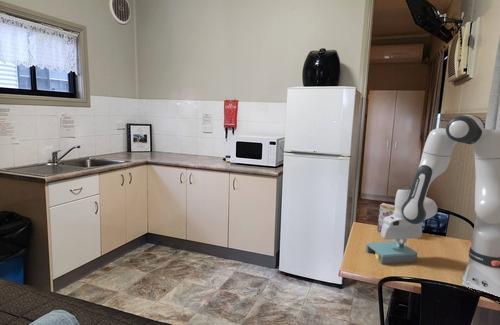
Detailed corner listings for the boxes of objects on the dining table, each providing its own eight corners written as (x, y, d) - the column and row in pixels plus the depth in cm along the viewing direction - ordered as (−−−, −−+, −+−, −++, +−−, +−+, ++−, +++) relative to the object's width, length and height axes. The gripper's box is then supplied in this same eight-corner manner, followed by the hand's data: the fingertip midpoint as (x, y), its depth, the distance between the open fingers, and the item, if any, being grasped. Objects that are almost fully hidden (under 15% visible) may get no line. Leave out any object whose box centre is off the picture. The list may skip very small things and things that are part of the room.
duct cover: (417, 254, 152) (417, 252, 152) (382, 257, 149) (382, 255, 149) (398, 242, 166) (398, 240, 165) (366, 244, 162) (366, 242, 162)
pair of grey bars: (416, 261, 153) (417, 254, 152) (381, 264, 149) (382, 257, 149) (397, 249, 166) (398, 242, 166) (365, 251, 163) (366, 244, 162)
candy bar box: (376, 231, 191) (379, 204, 188) (380, 228, 195) (382, 202, 192) (396, 236, 184) (399, 208, 181) (399, 233, 187) (402, 206, 185)
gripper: (417, 216, 161) (414, 242, 163) (380, 218, 157) (377, 244, 160) (426, 221, 155) (423, 248, 157) (387, 222, 151) (385, 250, 154)
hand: (400, 246), depth 158 cm, fingers closed, pressing on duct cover
